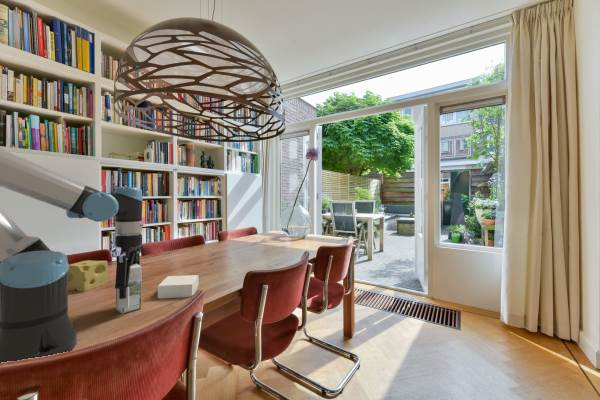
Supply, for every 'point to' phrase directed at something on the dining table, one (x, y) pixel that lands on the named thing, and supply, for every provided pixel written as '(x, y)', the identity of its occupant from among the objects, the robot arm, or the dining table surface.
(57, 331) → the robot arm
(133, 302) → the syrup box
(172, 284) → the cream block
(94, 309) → the dining table surface
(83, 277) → the cheese
